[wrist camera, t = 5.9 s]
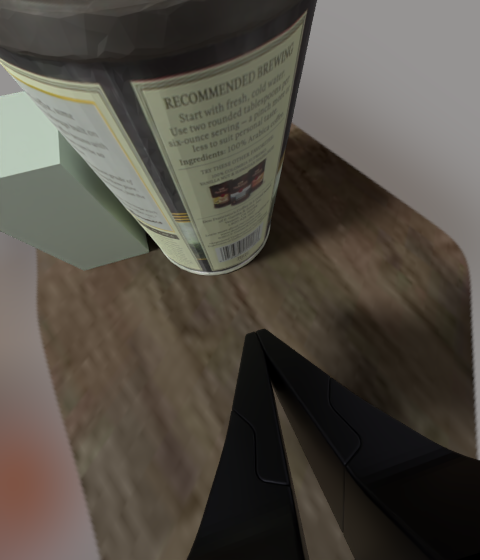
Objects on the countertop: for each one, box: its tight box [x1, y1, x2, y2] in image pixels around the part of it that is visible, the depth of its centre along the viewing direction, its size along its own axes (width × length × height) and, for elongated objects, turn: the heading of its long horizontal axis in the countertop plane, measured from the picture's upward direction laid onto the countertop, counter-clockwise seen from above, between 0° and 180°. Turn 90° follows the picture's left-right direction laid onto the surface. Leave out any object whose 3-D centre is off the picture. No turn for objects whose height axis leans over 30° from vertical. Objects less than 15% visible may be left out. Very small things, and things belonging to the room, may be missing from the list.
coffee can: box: [0, 0, 317, 275], centre depth 12 cm, size 10×10×14 cm
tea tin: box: [0, 91, 149, 270], centre depth 14 cm, size 6×6×9 cm
